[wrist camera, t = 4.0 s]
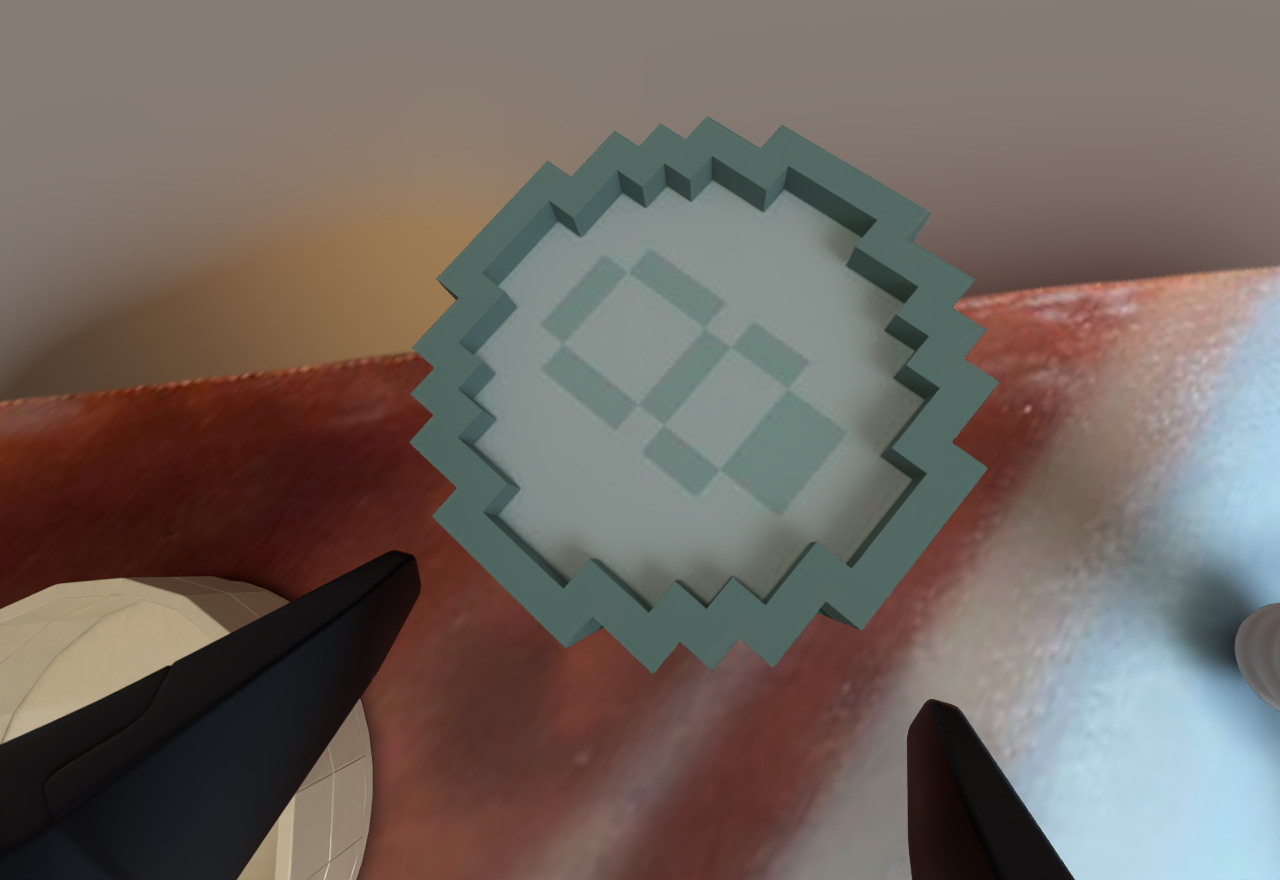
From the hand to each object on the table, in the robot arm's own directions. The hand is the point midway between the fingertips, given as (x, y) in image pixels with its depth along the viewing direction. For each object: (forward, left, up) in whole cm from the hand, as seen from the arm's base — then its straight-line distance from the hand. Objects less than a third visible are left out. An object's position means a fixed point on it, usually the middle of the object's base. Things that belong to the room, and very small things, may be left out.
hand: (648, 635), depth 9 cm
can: (+2, -3, -11) cm, 12 cm away
